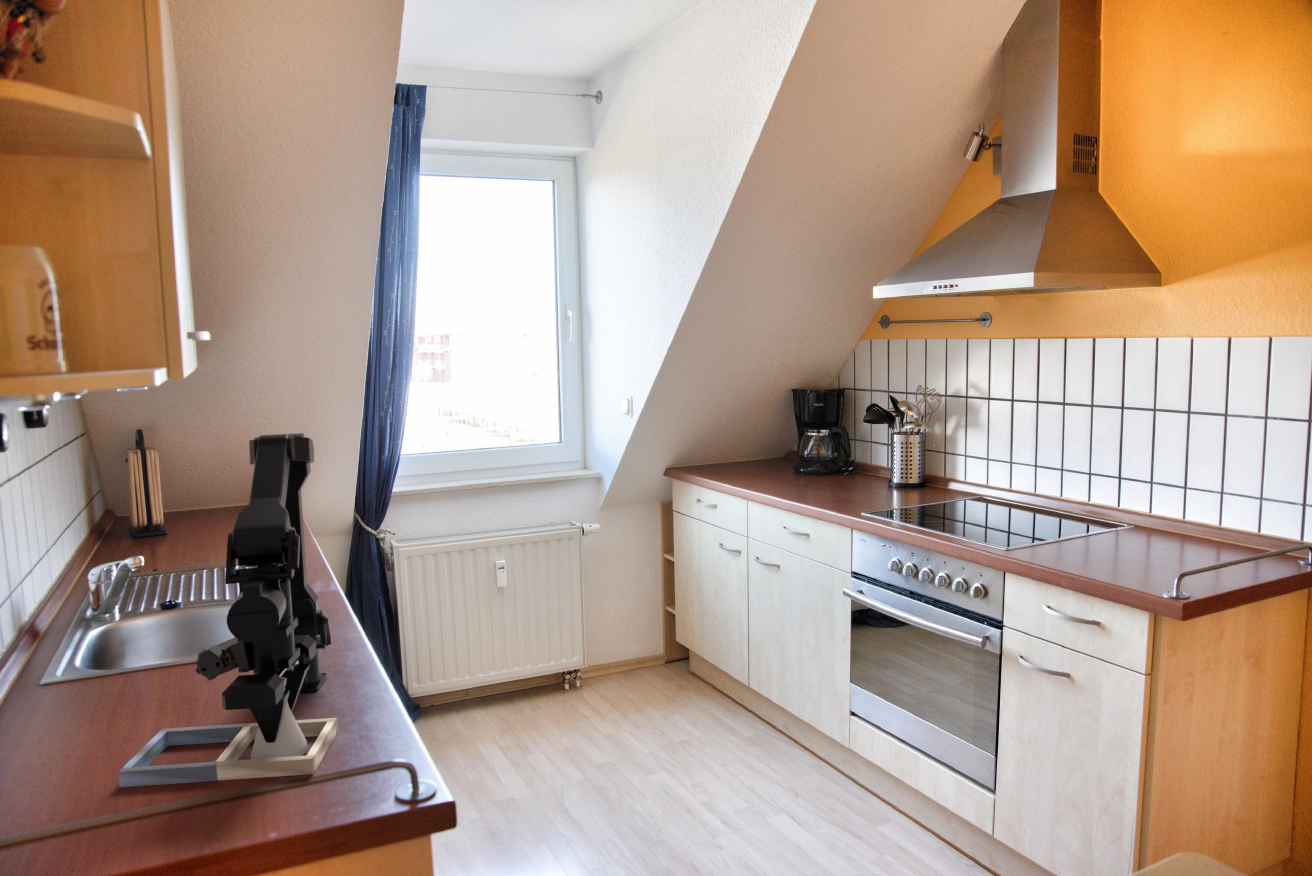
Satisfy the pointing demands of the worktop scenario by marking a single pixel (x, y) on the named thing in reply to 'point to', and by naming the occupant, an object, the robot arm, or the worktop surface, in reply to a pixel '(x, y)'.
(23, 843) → the worktop surface
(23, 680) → the worktop surface
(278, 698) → the robot arm
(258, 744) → the flask
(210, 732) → the caddy
